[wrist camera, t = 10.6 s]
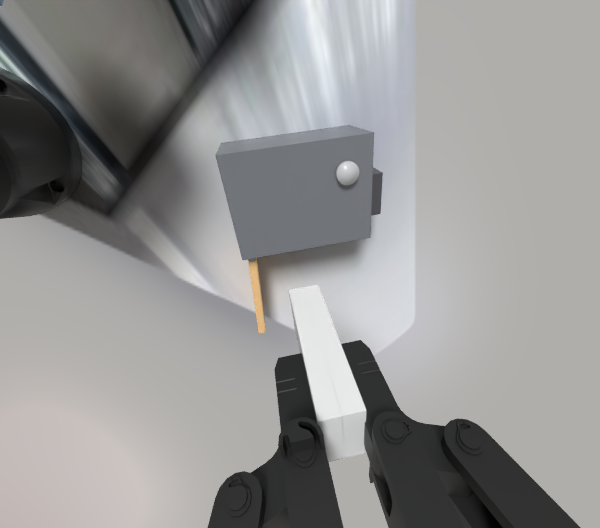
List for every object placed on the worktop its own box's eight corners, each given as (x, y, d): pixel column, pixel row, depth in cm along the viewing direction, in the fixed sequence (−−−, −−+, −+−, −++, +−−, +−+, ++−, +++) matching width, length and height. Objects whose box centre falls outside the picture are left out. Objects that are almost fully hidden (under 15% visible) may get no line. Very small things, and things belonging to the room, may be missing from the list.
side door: (247, 233, 40) (247, 255, 34) (254, 233, 40) (255, 254, 35) (257, 308, 47) (259, 335, 42) (263, 307, 47) (265, 334, 42)
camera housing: (242, 232, 40) (242, 263, 32) (221, 143, 33) (214, 156, 26) (360, 212, 41) (385, 238, 34) (361, 123, 35) (392, 131, 28)
